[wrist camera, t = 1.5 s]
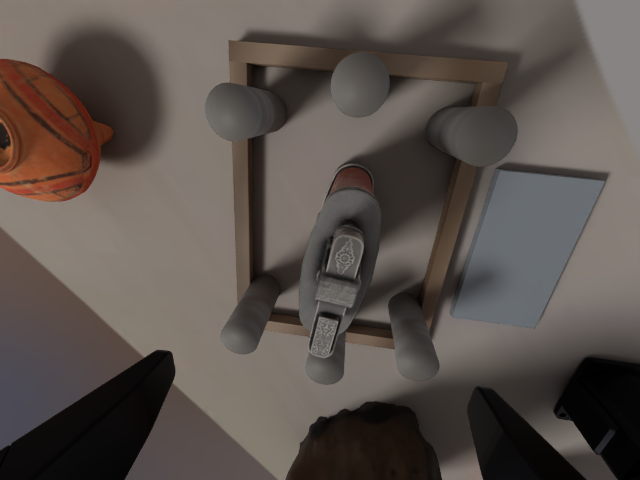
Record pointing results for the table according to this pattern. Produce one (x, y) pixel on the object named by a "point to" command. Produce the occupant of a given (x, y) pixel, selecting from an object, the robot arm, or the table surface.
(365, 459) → the owl
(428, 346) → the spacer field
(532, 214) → the mat
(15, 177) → the pot
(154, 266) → the table surface
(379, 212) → the lighter
